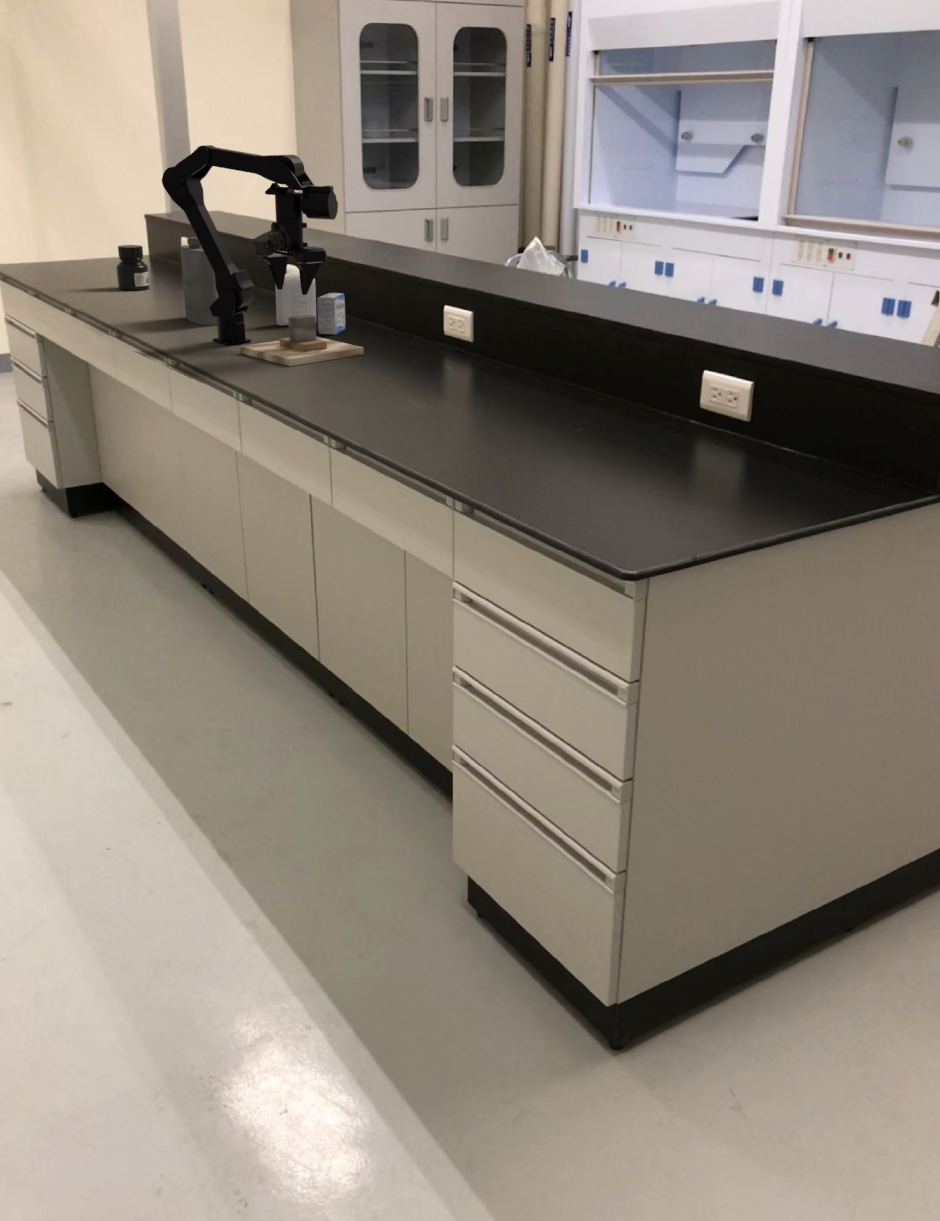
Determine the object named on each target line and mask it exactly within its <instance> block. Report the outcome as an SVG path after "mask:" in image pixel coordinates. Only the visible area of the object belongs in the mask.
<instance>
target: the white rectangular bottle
mask: <svg viewBox="0 0 940 1221" xmlns="http://www.w3.org/2000/svg"><path fill="white" fill-rule="evenodd" d="M274 286H275V289H274V290H275V309H276V310H275V311H276V314H275V317H276V324H277V326H289V320H288V317H292V316H300V315H311V316H315V317H316V318H317V302H316V301H317V297H316V296H317V294H316V293H317V292H316V291H317V290H316V279H315V278H314V279H313V282H312V284H311V286H310V289H309V291H308V293H307V295H303V294H302V291H301V283H300V274H299V272H287V273H285V279H284V284H283V288H282V289H281V290H278V289H277V286H276V284H275V283H274Z"/></svg>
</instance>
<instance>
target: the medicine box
mask: <svg viewBox="0 0 940 1221" xmlns="http://www.w3.org/2000/svg"><path fill="white" fill-rule="evenodd" d="M345 298H346V297H345V294H344V293H343V292H341V293H340V292H328V293H325V294H323V295H320V296H319V297H316V301H317V302H316V309H317V324H318V326H317V328H318V334H319V335H330V336H334V335H335V336H336V335H338V334H339V333H342V332H343V331H345V330H346V302H345Z"/></svg>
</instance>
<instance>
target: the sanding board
mask: <svg viewBox="0 0 940 1221" xmlns="http://www.w3.org/2000/svg"><path fill="white" fill-rule="evenodd" d="M316 339H318V340H323V341H327V348H326V349H320V350H313V351H307V352H303V351H299V350H295V349H291V348H287V347H283V346H280V342H279V340H274V341H268V342H267V341H266V342H260V343H252V344H246V345H239V353H240V354H243V355H245V356H250V357H253V358H257V359H261V360H265V361H269V362H273V363H275V364H281V365H283V366H287V367H294V366H299V365H306V364H312V363H313V364H314V363H318V362H323V361H324V362H325V361H331V360H337V359H343V358H348V357H355V356H361V355H364V353H365V352H364V350H365V349H364V347H363V346H359V345H354V344H351V343H346V342H342V341H338V340H334V339H328V338H324V337H321V336H316Z"/></svg>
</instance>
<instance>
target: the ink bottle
mask: <svg viewBox="0 0 940 1221" xmlns="http://www.w3.org/2000/svg"><path fill="white" fill-rule="evenodd" d="M143 248H144V247H143V245H139V244H138V245H137V244H123V245H118V246H117V250H118V251H117V252H118V253H117V254H118V258H119V262H118V263H117V265H116V266H115V267H116V277H117V286H118V289H119V290H122V291H145V290H148V289H150V288H151V287H150V286H151V285H150V275H149V274H150V273H149V266H148V265H147V263H145V262H144V261H143V260H144V249H143Z"/></svg>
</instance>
